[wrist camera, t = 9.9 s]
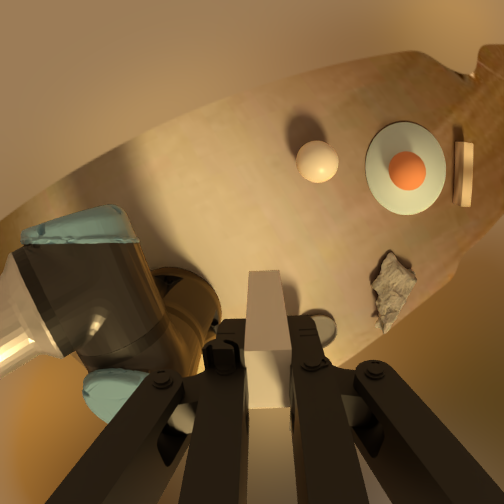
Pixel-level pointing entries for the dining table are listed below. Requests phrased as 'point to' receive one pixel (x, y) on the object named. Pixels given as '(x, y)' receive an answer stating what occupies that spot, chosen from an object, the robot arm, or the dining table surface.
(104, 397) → the robot arm
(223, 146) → the dining table surface
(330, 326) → the pocket watch
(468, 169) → the birch rail
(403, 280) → the mineral specimen
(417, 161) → the object ball
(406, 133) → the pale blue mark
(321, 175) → the cue ball
